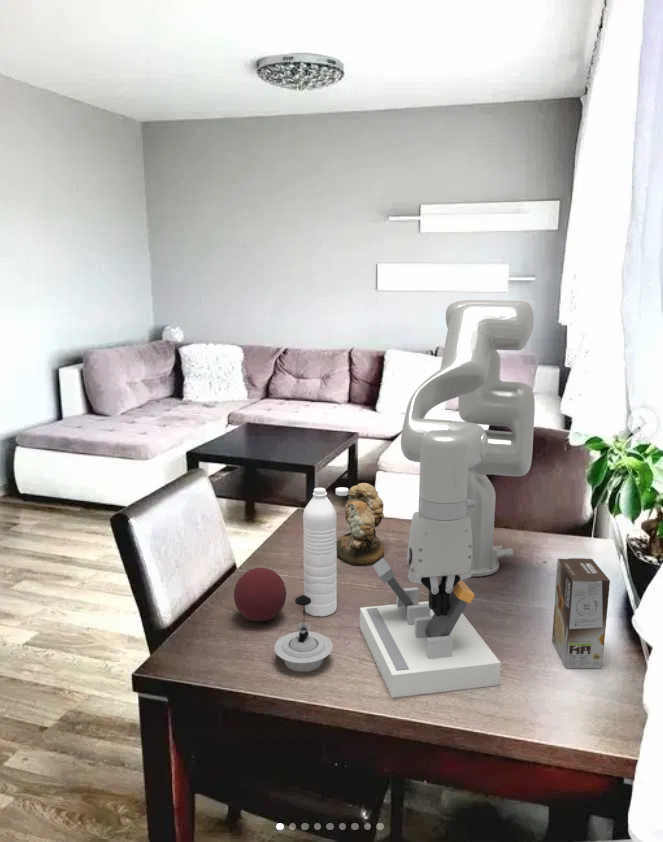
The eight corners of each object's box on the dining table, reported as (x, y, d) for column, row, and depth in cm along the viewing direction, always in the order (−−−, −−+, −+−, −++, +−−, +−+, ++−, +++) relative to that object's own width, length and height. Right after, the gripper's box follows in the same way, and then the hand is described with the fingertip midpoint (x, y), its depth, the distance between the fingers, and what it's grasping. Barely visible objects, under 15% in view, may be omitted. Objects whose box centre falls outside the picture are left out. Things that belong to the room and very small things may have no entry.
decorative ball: (294, 609, 133) (293, 562, 131) (274, 635, 124) (273, 584, 122) (247, 602, 136) (246, 556, 134) (225, 626, 127) (223, 577, 125)
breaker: (415, 600, 126) (383, 557, 123) (423, 613, 121) (390, 569, 118) (405, 607, 126) (372, 565, 123) (413, 621, 121) (379, 577, 118)
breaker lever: (432, 637, 116) (463, 581, 114) (442, 652, 111) (475, 595, 110) (420, 632, 115) (451, 576, 114) (430, 648, 110) (463, 590, 109)
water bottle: (302, 616, 130) (300, 493, 125) (305, 600, 137) (304, 483, 131) (347, 618, 130) (347, 494, 125) (348, 602, 136) (349, 484, 131)
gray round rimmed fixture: (322, 612, 107) (339, 585, 116) (264, 604, 110) (284, 578, 119) (323, 682, 110) (339, 649, 119) (265, 672, 112) (286, 641, 122)
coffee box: (603, 669, 113) (612, 581, 110) (565, 668, 113) (572, 580, 110) (585, 640, 122) (592, 557, 119) (549, 639, 122) (556, 557, 119)
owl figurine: (331, 537, 170) (331, 472, 166) (377, 536, 171) (379, 471, 167) (338, 567, 152) (338, 495, 149) (389, 566, 153) (391, 494, 150)
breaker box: (450, 618, 130) (452, 583, 128) (499, 685, 109) (501, 644, 107) (359, 627, 127) (360, 591, 125) (391, 698, 105) (392, 656, 104)
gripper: (477, 497, 113) (472, 598, 117) (391, 502, 110) (389, 605, 114) (495, 512, 106) (489, 619, 110) (403, 518, 103) (401, 627, 107)
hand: (438, 611), depth 112 cm, fingers closed
